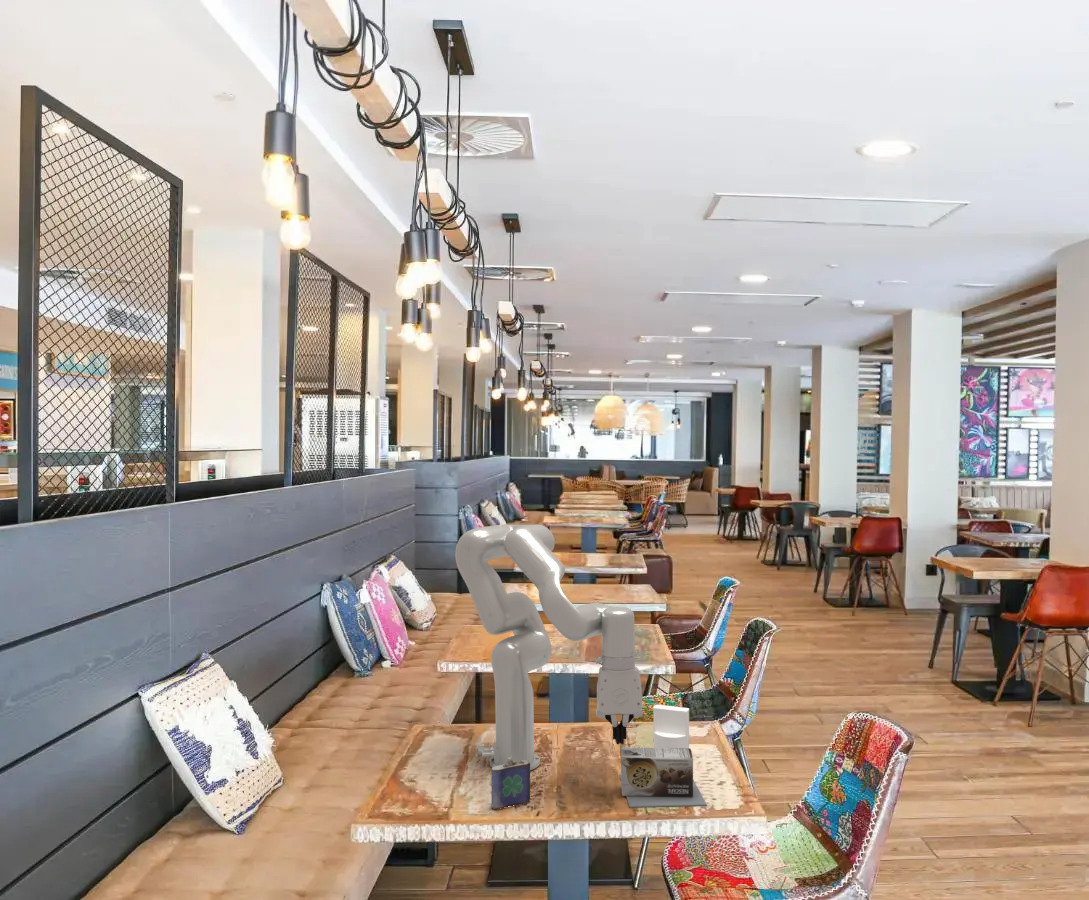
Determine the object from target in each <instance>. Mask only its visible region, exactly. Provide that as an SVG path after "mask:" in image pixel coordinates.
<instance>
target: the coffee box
mask: <svg viewBox="0 0 1089 900" xmlns="http://www.w3.org/2000/svg"><path fill="white" fill-rule="evenodd" d="M620 774H621V779H620V787H621V797H626V796H655V797H693V780H694V759H693V752H692V749H691V748H690V747H689V748H654V747H638V746H637V747H635V746H634V747H630V746H628V747H626V746H621V747H620Z"/></svg>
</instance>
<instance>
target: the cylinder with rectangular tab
mask: <svg viewBox="0 0 1089 900" xmlns="http://www.w3.org/2000/svg"><path fill="white" fill-rule="evenodd" d="M652 708H653V710H652V711H653V713H652V714H653V748H689V749H690V708H688V707H682V706H681V707H680V706H672V705H664V704H655V705H653V707H652Z"/></svg>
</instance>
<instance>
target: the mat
mask: <svg viewBox="0 0 1089 900" xmlns="http://www.w3.org/2000/svg"><path fill="white" fill-rule="evenodd" d="M619 779H620V780H621V773H620V774H619ZM625 797H626V800H627V804H628V806H629V808H633V807H634V808H667V807H668V806H669V807H668V808H670V807H671V808H674V807H675V808H676V807H707V806H708V804H707V802H706V800H705V799H704V797H703V795H702V793H701V791H700V789H699V788H698V786H697V783H696V782H695V780H694V779H693V797H655V796H625ZM663 806H664V807H663Z"/></svg>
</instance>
